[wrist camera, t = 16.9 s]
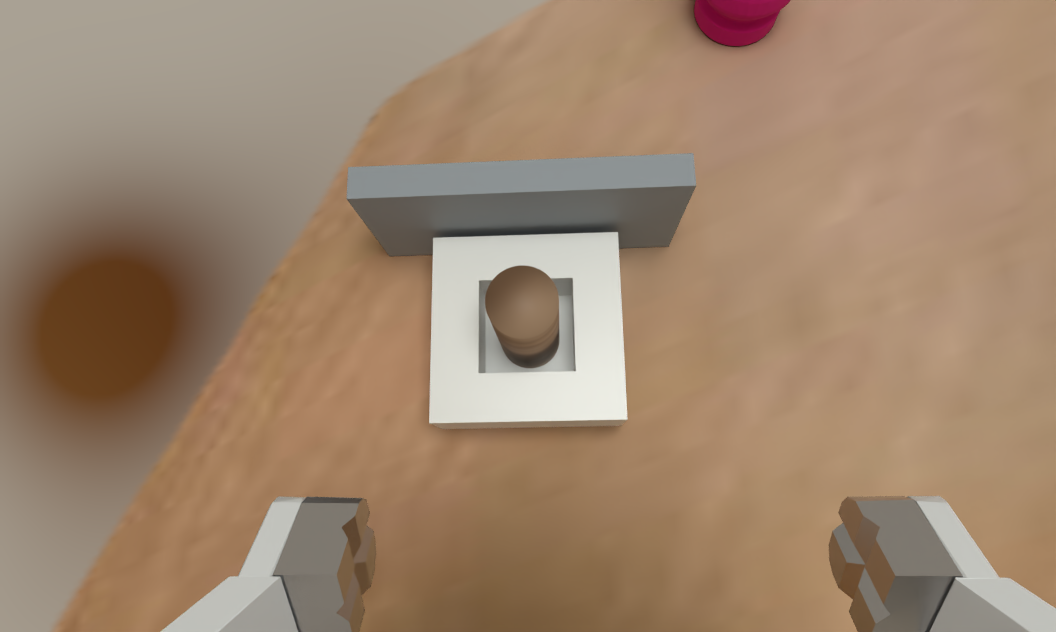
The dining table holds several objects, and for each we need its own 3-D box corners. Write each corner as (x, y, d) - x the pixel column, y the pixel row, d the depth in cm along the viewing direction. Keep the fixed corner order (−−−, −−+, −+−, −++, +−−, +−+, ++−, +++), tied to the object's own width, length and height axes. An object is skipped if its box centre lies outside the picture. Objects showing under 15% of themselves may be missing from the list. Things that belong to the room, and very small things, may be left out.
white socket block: (620, 426, 45) (627, 419, 40) (443, 429, 45) (429, 423, 41) (612, 257, 48) (617, 231, 43) (446, 262, 48) (433, 237, 44)
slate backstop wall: (668, 246, 47) (696, 185, 38) (389, 256, 48) (346, 198, 39) (666, 220, 48) (693, 153, 38) (390, 230, 49) (348, 167, 39)
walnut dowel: (571, 341, 46) (574, 303, 36) (527, 380, 45) (517, 352, 35) (533, 299, 46) (525, 251, 37) (489, 337, 46) (469, 297, 36)
